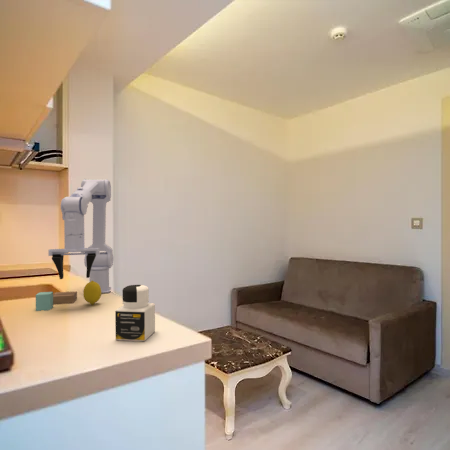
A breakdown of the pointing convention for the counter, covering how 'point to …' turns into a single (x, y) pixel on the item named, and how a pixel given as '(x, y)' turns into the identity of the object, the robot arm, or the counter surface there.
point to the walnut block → (64, 297)
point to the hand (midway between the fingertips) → (74, 278)
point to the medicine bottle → (135, 315)
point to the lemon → (92, 292)
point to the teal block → (44, 301)
